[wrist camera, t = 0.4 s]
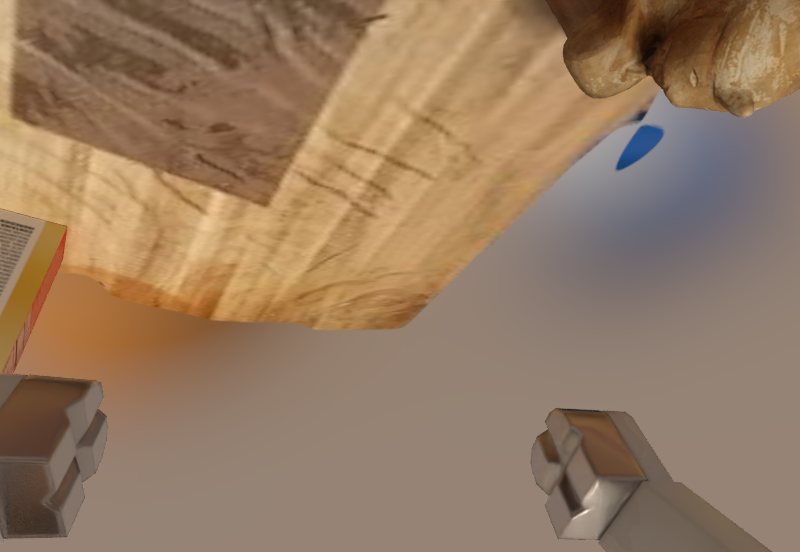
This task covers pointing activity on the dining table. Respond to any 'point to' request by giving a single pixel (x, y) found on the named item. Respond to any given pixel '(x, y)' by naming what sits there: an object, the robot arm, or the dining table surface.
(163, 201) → the dining table surface
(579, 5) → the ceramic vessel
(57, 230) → the pasta box
